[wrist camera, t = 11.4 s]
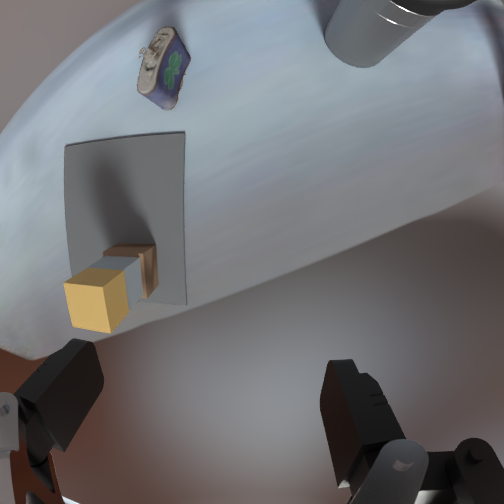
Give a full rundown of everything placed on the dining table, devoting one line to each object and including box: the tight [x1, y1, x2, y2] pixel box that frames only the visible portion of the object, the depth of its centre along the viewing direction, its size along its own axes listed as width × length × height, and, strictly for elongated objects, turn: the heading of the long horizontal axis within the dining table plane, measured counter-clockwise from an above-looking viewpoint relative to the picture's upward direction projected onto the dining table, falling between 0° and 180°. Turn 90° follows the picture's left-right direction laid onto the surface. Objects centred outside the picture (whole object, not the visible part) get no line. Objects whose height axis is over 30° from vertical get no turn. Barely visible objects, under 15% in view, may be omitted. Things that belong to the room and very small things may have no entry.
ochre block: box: [64, 268, 129, 333], centre depth 27 cm, size 5×5×5 cm
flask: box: [137, 27, 191, 110], centre depth 27 cm, size 9×3×11 cm, turn 165°
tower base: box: [103, 243, 159, 299], centre depth 36 cm, size 6×6×5 cm
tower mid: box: [87, 256, 143, 310], centre depth 32 cm, size 5×5×5 cm
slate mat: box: [64, 133, 187, 305], centre depth 38 cm, size 24×20×1 cm
